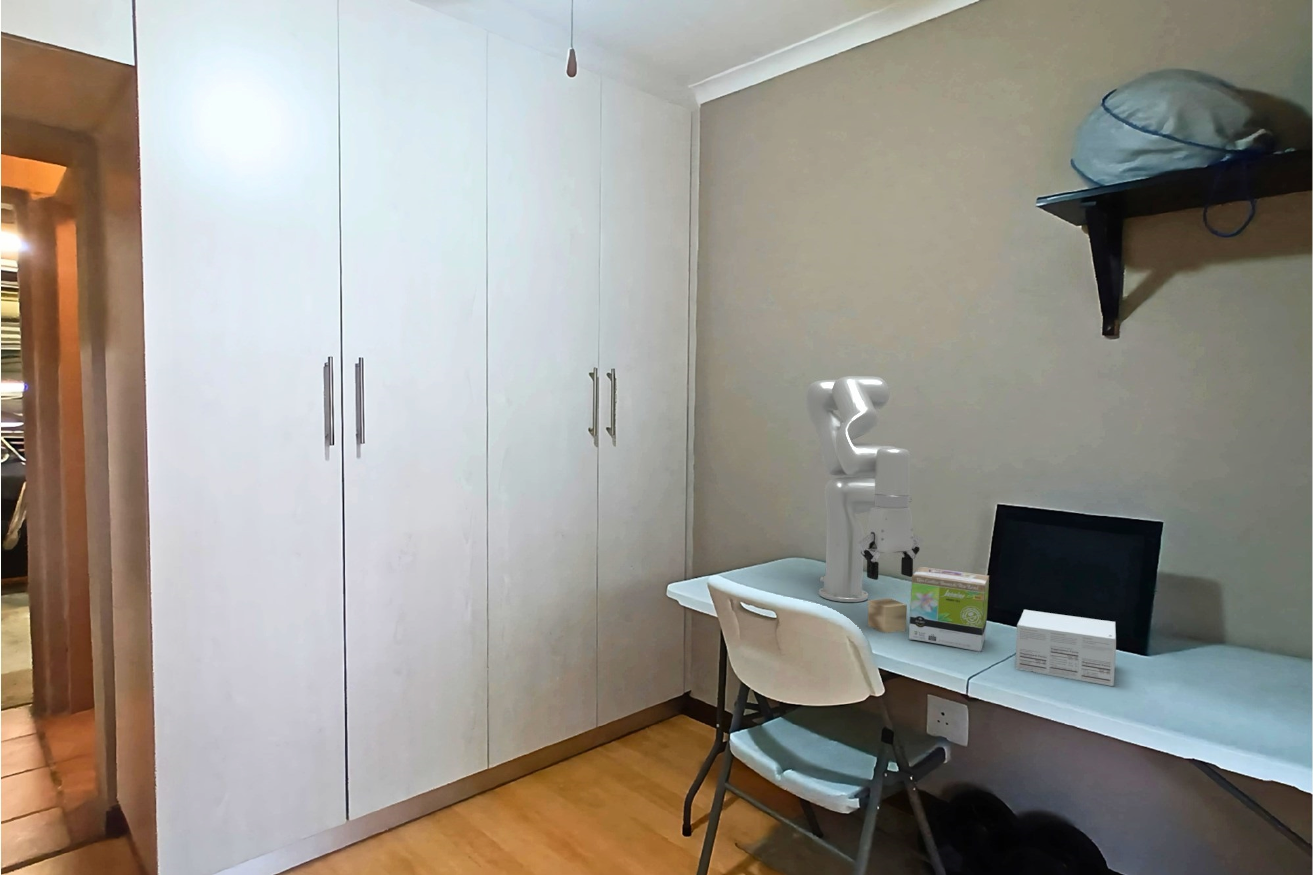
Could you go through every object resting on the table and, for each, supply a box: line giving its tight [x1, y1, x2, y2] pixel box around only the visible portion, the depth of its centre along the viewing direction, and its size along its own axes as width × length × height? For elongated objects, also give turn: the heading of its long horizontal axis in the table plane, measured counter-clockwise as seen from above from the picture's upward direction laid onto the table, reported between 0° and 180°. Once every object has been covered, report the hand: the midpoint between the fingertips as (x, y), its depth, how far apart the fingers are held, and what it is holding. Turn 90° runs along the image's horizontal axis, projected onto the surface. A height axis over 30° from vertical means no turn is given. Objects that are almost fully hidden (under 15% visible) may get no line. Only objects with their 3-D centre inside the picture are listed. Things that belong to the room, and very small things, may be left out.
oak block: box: [867, 597, 908, 634], centre depth 176 cm, size 6×6×6 cm
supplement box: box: [1014, 609, 1117, 687], centre depth 152 cm, size 17×13×9 cm
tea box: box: [908, 566, 990, 653], centre depth 168 cm, size 15×10×15 cm, turn 62°
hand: (889, 577), depth 175 cm, fingers open, 9 cm apart
